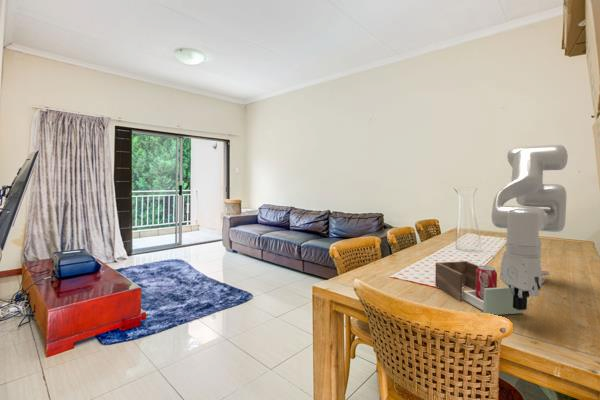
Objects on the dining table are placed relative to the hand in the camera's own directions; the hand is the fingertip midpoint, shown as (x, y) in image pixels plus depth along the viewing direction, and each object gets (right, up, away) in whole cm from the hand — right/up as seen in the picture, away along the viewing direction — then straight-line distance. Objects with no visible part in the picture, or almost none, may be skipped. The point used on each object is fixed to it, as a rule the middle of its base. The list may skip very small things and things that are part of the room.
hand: (519, 308), depth 86 cm
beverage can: (-1, -3, +14) cm, 14 cm away
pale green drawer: (-1, -4, +14) cm, 14 cm away
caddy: (-3, -3, +25) cm, 25 cm away
